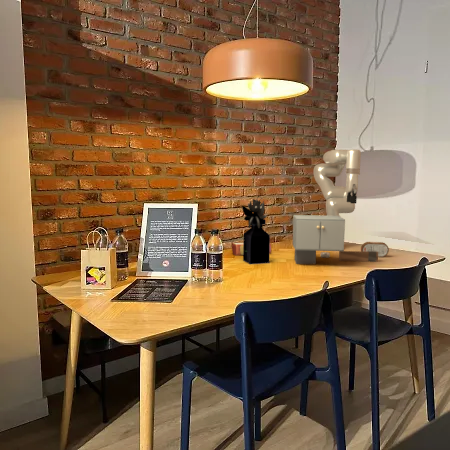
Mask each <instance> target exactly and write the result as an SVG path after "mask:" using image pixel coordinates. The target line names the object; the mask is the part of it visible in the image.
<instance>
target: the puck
mask: <svg viewBox="0 0 450 450" xmlns="http://www.w3.org/2000/svg"><path fill="white" fill-rule="evenodd" d="M320 258H331V253H330V252H329V251H320Z"/></svg>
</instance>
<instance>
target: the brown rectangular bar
mask: <svg viewBox="0 0 450 450" xmlns="http://www.w3.org/2000/svg"><path fill="white" fill-rule="evenodd" d="M338 252H339V254H338V255H339V256H338V261H339V262H368V261H370V263H374V262H378V261H379V257H378V252H375V251H361V250H359V251H358V250H355V251H354V250H353V251H352V250H351V251H350V250H344V251H338Z"/></svg>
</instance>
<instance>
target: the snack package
mask: <svg viewBox="0 0 450 450" xmlns="http://www.w3.org/2000/svg"><path fill="white" fill-rule="evenodd" d="M231 252H232V255H234V256H238V257H239V256H243V242H233V243H232V244H231ZM271 253H272V243H270V254H271Z"/></svg>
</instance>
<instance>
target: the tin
mask: <svg viewBox="0 0 450 450" xmlns="http://www.w3.org/2000/svg"><path fill="white" fill-rule="evenodd" d="M360 251H375V252H378V258H384V257H386V256H387V255H388V254H389V251H390V248H389V246H388V245H387V244H386V243H385V242H383V241H366V242H364V243H363V244H361V247H360Z"/></svg>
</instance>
